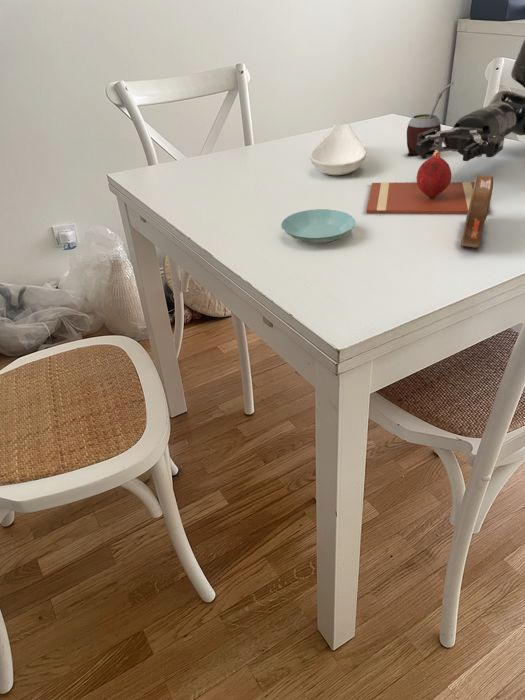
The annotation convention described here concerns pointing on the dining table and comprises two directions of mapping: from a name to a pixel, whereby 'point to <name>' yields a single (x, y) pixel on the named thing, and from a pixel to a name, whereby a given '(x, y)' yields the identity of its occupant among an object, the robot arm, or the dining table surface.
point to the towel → (419, 199)
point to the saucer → (318, 225)
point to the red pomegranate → (434, 176)
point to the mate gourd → (422, 128)
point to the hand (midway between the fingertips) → (441, 152)
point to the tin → (477, 211)
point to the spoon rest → (338, 151)
